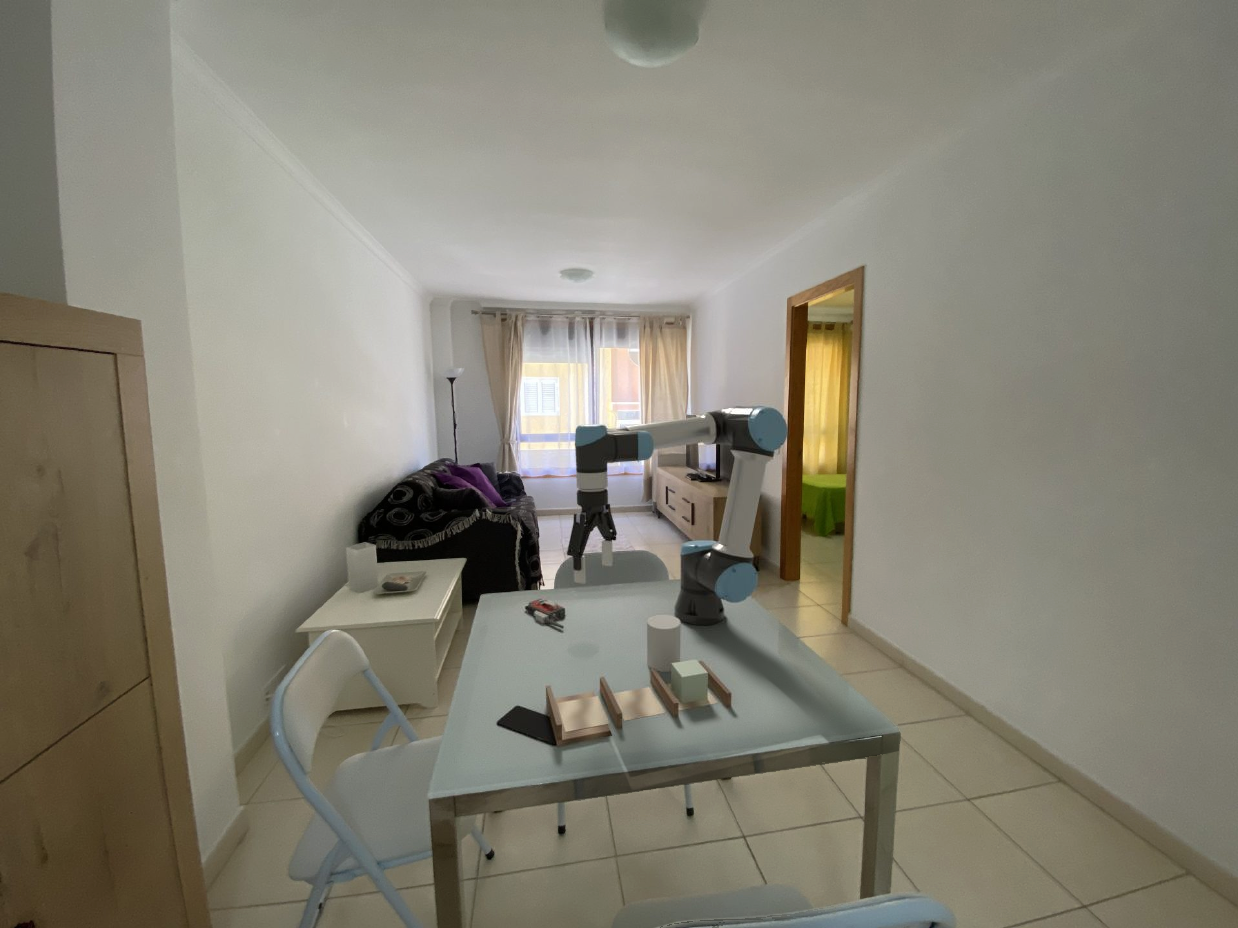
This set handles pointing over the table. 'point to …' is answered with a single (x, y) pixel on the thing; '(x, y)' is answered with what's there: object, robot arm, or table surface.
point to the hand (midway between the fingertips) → (594, 573)
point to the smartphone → (529, 724)
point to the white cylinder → (663, 642)
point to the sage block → (689, 681)
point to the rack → (619, 707)
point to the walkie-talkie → (546, 611)
